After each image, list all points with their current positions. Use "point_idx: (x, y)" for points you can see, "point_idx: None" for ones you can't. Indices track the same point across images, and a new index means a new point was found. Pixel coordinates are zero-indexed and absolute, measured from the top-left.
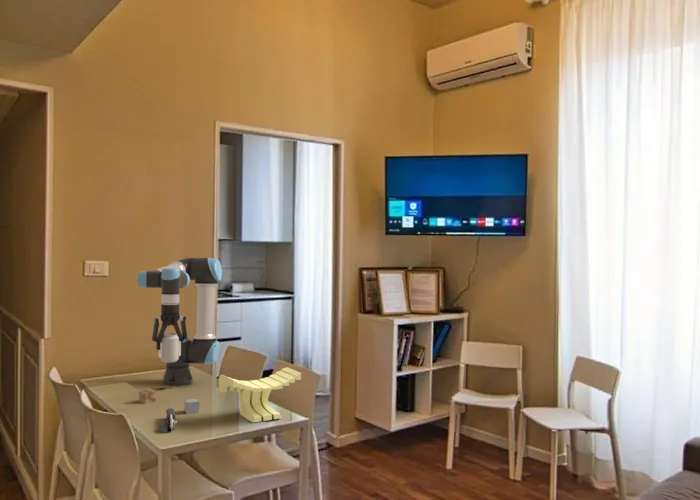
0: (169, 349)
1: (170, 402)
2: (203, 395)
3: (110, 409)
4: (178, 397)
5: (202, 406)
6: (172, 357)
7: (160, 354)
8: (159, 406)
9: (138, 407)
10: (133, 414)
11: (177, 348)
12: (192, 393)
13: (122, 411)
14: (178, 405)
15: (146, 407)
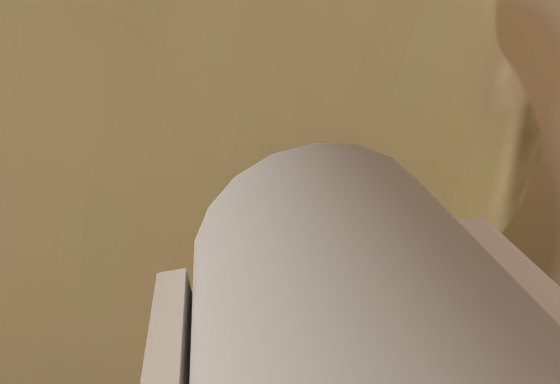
0: (442, 241)
1: (222, 186)
2: (7, 262)
3: (525, 171)
4: (159, 267)
5: (38, 6)
6: (326, 163)
7: (514, 250)
8: (299, 127)
9: (402, 153)
10: (475, 19)
11: (236, 306)
12: (70, 318)
13: (496, 109)
14: (191, 103)
15: (367, 136)
